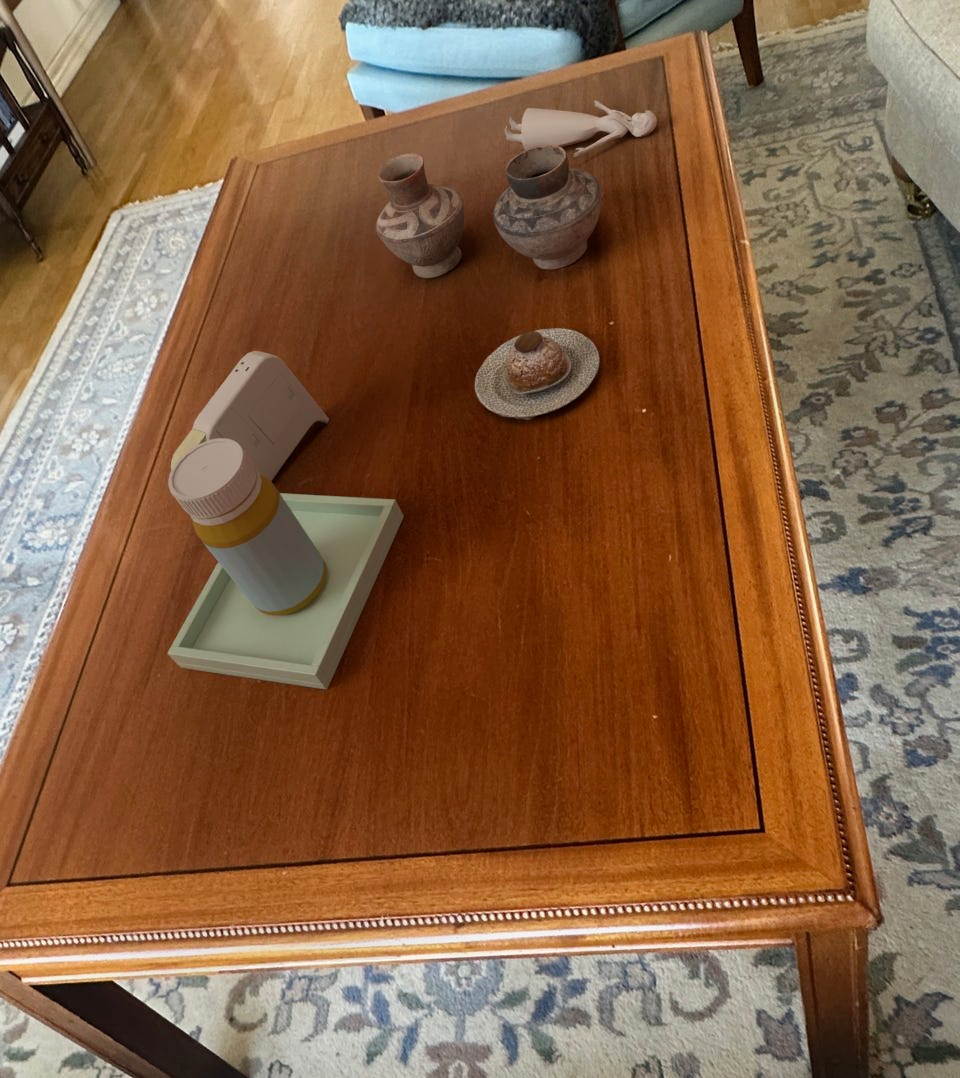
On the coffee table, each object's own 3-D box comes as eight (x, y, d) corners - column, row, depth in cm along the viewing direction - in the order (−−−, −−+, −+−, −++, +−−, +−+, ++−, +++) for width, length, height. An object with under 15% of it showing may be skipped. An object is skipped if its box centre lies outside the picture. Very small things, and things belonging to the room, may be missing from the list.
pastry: (609, 406, 87) (599, 367, 84) (480, 438, 90) (465, 402, 86) (593, 324, 95) (583, 285, 92) (475, 355, 97) (461, 319, 94)
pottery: (412, 236, 115) (375, 143, 106) (621, 215, 105) (599, 111, 96) (381, 299, 108) (339, 205, 100) (601, 283, 99) (575, 177, 90)
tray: (327, 690, 77) (315, 675, 75) (180, 668, 83) (166, 653, 81) (404, 516, 86) (395, 499, 84) (267, 507, 92) (256, 491, 90)
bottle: (337, 550, 85) (259, 429, 74) (318, 617, 80) (232, 499, 69) (266, 556, 87) (180, 438, 76) (244, 621, 83) (149, 507, 72)
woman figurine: (517, 88, 120) (663, 76, 114) (523, 122, 124) (666, 112, 118) (491, 141, 114) (645, 132, 108) (499, 175, 117) (649, 168, 111)
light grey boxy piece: (225, 534, 95) (312, 414, 99) (245, 542, 93) (331, 420, 97) (154, 469, 86) (252, 340, 90) (174, 477, 84) (272, 345, 89)
